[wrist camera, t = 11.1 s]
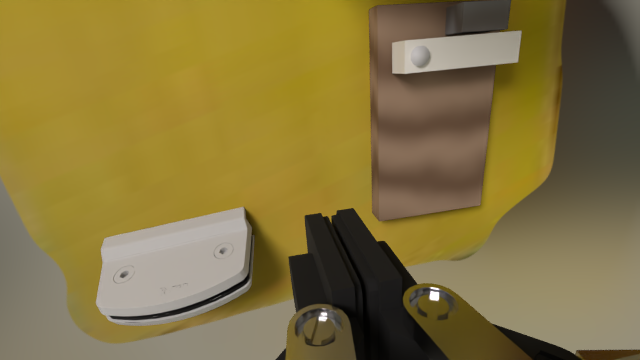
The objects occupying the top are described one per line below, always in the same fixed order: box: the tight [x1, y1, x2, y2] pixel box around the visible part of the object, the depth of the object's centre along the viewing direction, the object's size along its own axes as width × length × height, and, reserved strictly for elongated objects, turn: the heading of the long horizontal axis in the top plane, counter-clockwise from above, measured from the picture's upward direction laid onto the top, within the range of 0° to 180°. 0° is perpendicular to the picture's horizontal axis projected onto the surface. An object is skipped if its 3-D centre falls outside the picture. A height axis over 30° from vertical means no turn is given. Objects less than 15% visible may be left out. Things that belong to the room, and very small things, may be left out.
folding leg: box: [392, 31, 522, 74], centre depth 33 cm, size 12×3×3 cm, turn 95°
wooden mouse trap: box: [369, 0, 511, 221], centre depth 37 cm, size 24×14×6 cm, turn 4°
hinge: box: [96, 207, 254, 326], centre depth 35 cm, size 17×5×10 cm, turn 99°
